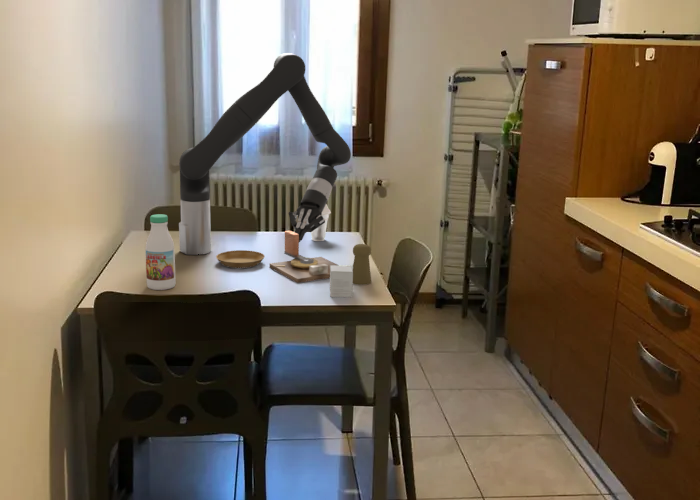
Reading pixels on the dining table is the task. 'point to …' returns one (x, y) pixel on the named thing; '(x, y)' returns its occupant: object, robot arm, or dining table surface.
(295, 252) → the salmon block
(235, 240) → the dining table surface
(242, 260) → the plant saucer
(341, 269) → the product box
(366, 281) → the pepper mill
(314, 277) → the brown wooden cutting board
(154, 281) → the milk bottle
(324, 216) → the cup with straw
